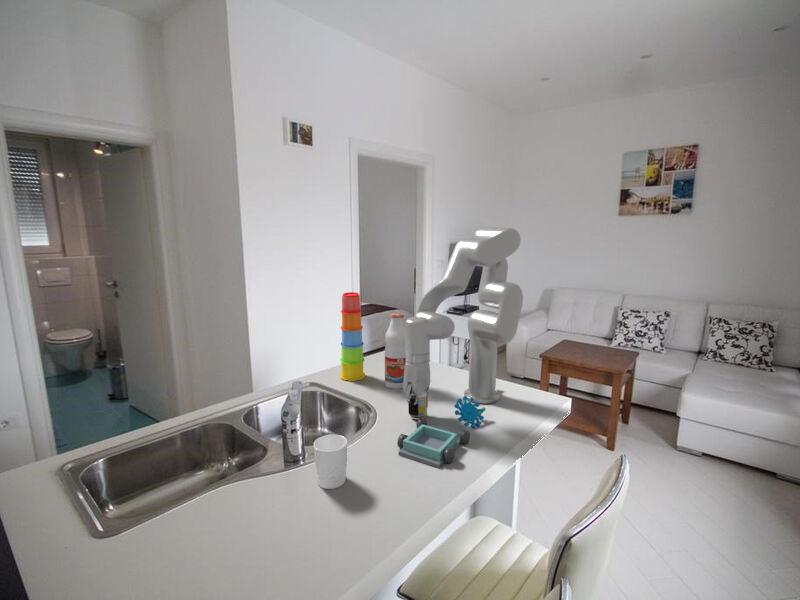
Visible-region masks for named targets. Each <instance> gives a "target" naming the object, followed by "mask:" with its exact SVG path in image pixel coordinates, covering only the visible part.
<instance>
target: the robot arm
mask: <svg viewBox="0 0 800 600" xmlns="http://www.w3.org/2000/svg"><path fill="white" fill-rule="evenodd" d="M521 240H522V239H521V235H520V233H519V231H518V230H516V229H515V228H514V227H513V228H512V227H493V226H492V227H491V226H490V227H489V226H488V227H486V226H485V227H481V228H479V229H477V230H476V231H475V232H474V233H473V238H464V239H461V240H459V241H457V243H456V244H455V246H454V248H453V251H452V253H451V255H450V258H449V259H448V260H449V261H448V263H447V265H446V268H445V270H444V273H443V274H442V276H441V279H440V280H439V281H438V282H436V284H434V285H433V286H432V287H431V288H430V289H429V290H428V291H427V292H426V294H425V295H423V297H422V299H421V301H420V303H419V305H418V307H417V310H416V312H415V315H414V316H412V317H409V318H407V319H406V320H405V322H404V325H405V349H406V364H405V369H404V384H403V388H402V390H403V394H404V397H403V398H404V400H406V402H407V404H408V415H409V416H410V415H414V416H418V404H417V399H418V395H419V394H420V393H422V392H423V391H426V393H427V408H428V406H429V403H428V399H429V398H428V396H429V389H430V386H431V367H430V366H431V364H430V362H431V361H430V360H431V359H430V358H431V355H430V353H431V352H430V351H431V349H430V348H431V347H430V343H431V341H432V340H445V339H448V338H449V337H451V336H452V335H453V334H454V332H455V328H456V326H455V322H454V320H453V318H451V317H449V316H447V315H444V314H440V313H437V310H438V308H439V307H440V305H441V304H442V303H443V302H444V301H446V299H449V298H450V297H453V296H455V295H458V294H461V293H463V292H465V291H466V290H467V288H468V285H469V283H470V280H471V277H472V275H473V273H474V271H475V269H476V268H475V267H482V273H481V276H480V281H479V287H478V292H477V299H478V302H479V303H480V304H481V305H482V306H484V307H488V308H491V309H498V312H495V311H491V310H486V309H477V310H474V311H473V312H471V313H470V314H469V316H468V319H467V331H468V339H469V358H468V359H469V362H468V364H469V365H468V388H466V389H465V390H464V391H463V397H464V396H466V397H467V398H468V399H467V400H468V401H469V399H470V398H471V397H472V398H473V399H474V401H473V402H472V403H477V402H478V403H479V404H486V405H487V404H493V403H496V402H498V401H499V400H500V393H499V392H498V391H497V390H496V387H497V385H496V384H497V365H498V364H497V363H498V361H497V360H498V359H497V358H498V347H497V343H499V344H509V343H510V342H512V341H513V340H514V338H515V336H516V334H517V331H518V327H519V322H520V317H521V313H522V309H523V303H524V294H523V290H522V288H521V286H519V284H517V283H514V282H511V281H507V278H508V270H509V263H508V260H507V258H508V257H510V256H511V255H513V254H515V252H517V250H519V247H520V245H521ZM412 392H414V393H412ZM412 396H415V398H414V399H413V398H411V397H412Z"/></svg>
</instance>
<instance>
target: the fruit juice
mask: <svg viewBox="0 0 800 600" xmlns="http://www.w3.org/2000/svg"><path fill="white" fill-rule="evenodd" d="M404 315H405V314H404V313H401V312H393V313H390V315H389V316H390V322H389V325H388V328H387V331H386V332H385V335H384V340H385V343H386V345H385V348H384V384H385V386H386V387H387V388H388V389H392V390H393V389H395V390H400V389H402V390H403V384H404V369H405V364H406V349H405V322H404V317H405V316H404Z"/></svg>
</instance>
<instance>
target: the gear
mask: <svg viewBox="0 0 800 600" xmlns="http://www.w3.org/2000/svg"><path fill="white" fill-rule="evenodd" d="M467 400H468V398H467V397H466V396H464V395H463V397H462V398H458V399H457V400H456V401H457V403H455V404H454V408H455V409H456V410H455V411H454V415H455V416H458V415H459V417H458V418H457V419H458V421H459V423H462V422H463V421H465V422H464V423H463V425H464V427H466V428H467V427H469V426H470V428H472V429H475V428H476V427H478V426H481V425H482V422H481V421H483V420H484V418H485V416H484V415H482V414H483V413H484V412H485V411H486V409H487V408H485V407H482V408H479V407H480V406H481V405H480V404H481V403H478V402H477V403H476V402H473V401H474V399H473V398H472V397H471V398H470V399H469V400H468V402H467ZM475 421H476V422H475ZM470 422H471V425H470Z"/></svg>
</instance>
